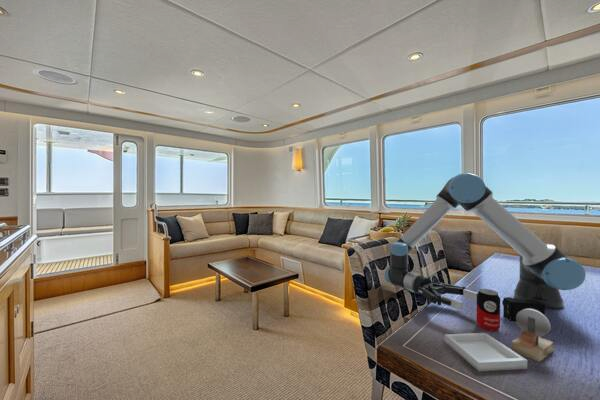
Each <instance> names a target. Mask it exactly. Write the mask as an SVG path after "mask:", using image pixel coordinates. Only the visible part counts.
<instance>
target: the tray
mask: <svg viewBox="0 0 600 400" xmlns="http://www.w3.org/2000/svg"><path fill="white" fill-rule="evenodd" d="M444 343H446V344H447V345H448V346H449V347H450V348H451V349H452V350H453V351H455V352H456V353H457V354H458V355H459V356H461V358H463V359H464V360H465V361H466V362H467V363H469V364H470V365H471V366H472V367H473V368H474V369H475V370H476V371H477V372H492V371H511V370H527V369H528V359H526V358H525V357H523V355H521V354H519V353H517V352H514V351H513V350H511V348H509V347H508V346H506V345H505V344H504V343H502V342H501V341H499V340H497V339H496V338H494V337H493V336H491V335H489V334H488V333H487V332H475V333H448V334H446V333H445V334H444Z"/></svg>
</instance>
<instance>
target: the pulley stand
mask: <svg viewBox="0 0 600 400" xmlns="http://www.w3.org/2000/svg"><path fill="white" fill-rule="evenodd" d="M516 321H517V322H516V323H517V326H518V327H519V328H520V329H521V330H522V332H520V333H519V336H518V337H516V338H515V339H513V340H512V341H511V346H510V347H511V348H510V349H511V350H513V351H514V352H516V353H517V354H519V355H520V356H524V357H527V358H529V359H532V360H533V361H535V362H538V363H540V362H541V361H543V360H544V359H545V358H547V357H548V356H549V355H551V353H553V352H554V350H555V349H554V347H555V345H554V344H555V343H554V341H552V340H549V339H547V338H546V339H545V338H543V337H544V336H546V335H548V333H550V331H551V329H552V328H551V327H552V326H551V322H550V320H549V318H548V317H547V316H546V314H545V315H544V314H542V313H541V312H539V311H537V310H535V309H529V308H528V309H523V310H521V311H520V312H518V313H517V315H516Z"/></svg>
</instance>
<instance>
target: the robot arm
mask: <svg viewBox="0 0 600 400" xmlns="http://www.w3.org/2000/svg"><path fill="white" fill-rule="evenodd" d="M493 194H494V193H493V191H492V190H491V189H490V188H488V187H487V186H486V184H485V181H484V180H483V179H482V178H481V177H480V176H479V175H476V174H473V173H469V172H468V173H467V172H466V173H465V172H464V173H460V174H457V175H455V176H453V177H451V178H450V179H449V180H447V182H446V183H445V184H444V186H443V187H442V189H441V190H440V191H439V193H437V194H436V196H435V197H436V198H435V200H434V201H433V202H432V204H430V205H429V207H427V209H425V211H423V213H422V214H421V215H420V217H418V218H417V219H416V220H415V222H413V224H412V225H410V227H409V228H408V229H407V230H406V231H405V232H404V233H403V234H402V235H401V237H400V238H399V239H398V240H397V241H393V242H391V244H390V247H389V248H390V249H389V255H390V256H389V261H390V263H389V266H388V267H387V268H386V269H385V272H384V274H383V275H384V280H385V281H386V282H387V283H388V284H391V285H392V286H397V287H399V288H400V289H401V288H402V289H405V290H406V291H407V290H408V291H409V292H411V293H415V294H418V295H420V296H423V297H424V298H426V299H427V300H428V301H429V302H431V303H432V304H434V305H435V304H436V305H438V306H442V304H443V305H446V306H448V307H451V308H452V309H456V310H459V311H463V304H464V303H463V301H460V300H458V299H454V298H452V297H448V296H445V294H449V295H450V294H451V295H459V296H462V297H464V298H467V299H470V300H473V301H476V302H477V293H478V292H475V291H473V290H469V289H467V287H466V286H464V285H463V286H462V285H455V284H450V283H443V282H440V281H439V282H438V281H437V283H435V282H432V280H431V279H430V277H427V276H425V275H420V274H418V273H414V272H410V271H408V269H409V253H410V252H411V251H412V250H413V249H414V247H416V246H417V245H418V243H419V242H420V241H422V239H423V238H424V237H425V236H427V234H428V233H429V232H430V231H431V230H432V229H433V228H434V227H435V226H436V225H437V224H438V223H440V221H441V220H442V219H443V218H444V217H445V216H446V215H447V214H448V213H449V212H450V211H451V210H455V209H456V208H457V207H458V206H461V208H463V209H464V210H465V211H466V212H471V213H472V212H473V213H474V214H475V215H476V216H477V217H478V218H479V219H480V220H482V221H483V223H485V224H486V225H487V226H488V227H489V228H490V229H491V230H492V231H493V232H494V233H496V234H497V235H498V237H499V238H501V239H503V241H505V243H507V244H508V245H509V246H510V247H511V248H512V249H513V250H514V251H515V252H517V253H518V254H519V279H518V281H517V283H516V287H515V289H514V291H513V297H514V298H516V299H530V300H537V301H539V302H541V303H543V304H544V305H545V309H546V308H547V309H562V308H564V299H563V298H562V295H561V292H560V291H571V290H572V291H573V290H575V289H577V288H579V287H581V286H582V285H583V284H584V282H585V280H586V270H585V268H584V266H582V264H580V262H578V261H577V260H575V259H573V258H570V257H569V256H567V255H566V254H564V253H563V252H562V251H561V250H560V249H559V248H557V246H555V245H554V244H550V243H545V242H544V241H542V240H541V239H540V238H539V237H538V236H537V235H536V234H535V233H533V231H531V230H530V229H529V228H528V227H526V225H524V224H523V223H522V222H521V221H520V220H518V219H517V218H516V217H515V216H514V215H513V214H512V213H511V212H510V211H509V210H507V209H506V208H505V207H504V206H502V204H500V202H498V201H497V200H496V199H494V198H493V196H494V195H493Z"/></svg>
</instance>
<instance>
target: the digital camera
mask: <svg viewBox="0 0 600 400" xmlns="http://www.w3.org/2000/svg"><path fill="white" fill-rule="evenodd" d="M502 305H503V309H502V310H503V312H502V313H503V314H502V315H503V317H504V318H505V319H506V320H508V321H509V322H511V323H517V321H516V315H517V313H518V312H520V311H521V310H523V309H528V308H529V309H535V310H537V311H539V312H541V313H542V314H544V315H545V316H546V313H545V312H546V307H545V305H544V304H543V303H541V302H539V301H537V300H530V299H516V298H515V297H514V298H513V297H510V296H506V297H503V300H502Z"/></svg>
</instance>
